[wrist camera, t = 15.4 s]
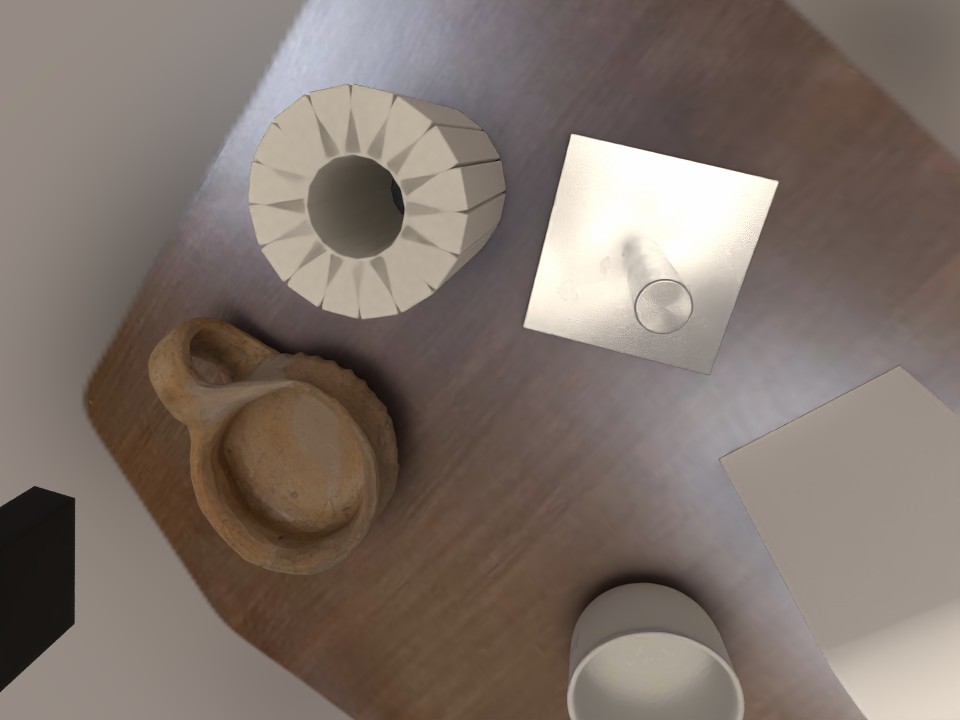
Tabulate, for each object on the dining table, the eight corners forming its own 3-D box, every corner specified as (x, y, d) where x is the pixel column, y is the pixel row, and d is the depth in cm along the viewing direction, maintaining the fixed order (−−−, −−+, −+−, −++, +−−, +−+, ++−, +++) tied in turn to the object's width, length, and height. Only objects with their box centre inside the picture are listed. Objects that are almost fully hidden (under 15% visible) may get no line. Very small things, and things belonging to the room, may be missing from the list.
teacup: (546, 586, 49) (537, 667, 41) (686, 539, 46) (705, 617, 38) (624, 727, 52) (629, 826, 44) (761, 691, 48) (792, 792, 41)
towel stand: (571, 133, 39) (560, 127, 26) (775, 180, 38) (867, 197, 25) (524, 323, 43) (494, 398, 30) (706, 370, 42) (755, 468, 29)
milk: (899, 365, 40) (1387, 715, 15) (986, 510, 42) (1544, 1028, 17) (719, 458, 43) (881, 861, 19) (806, 588, 45) (1055, 1105, 21)
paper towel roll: (362, 87, 40) (260, 62, 28) (521, 124, 39) (489, 115, 27) (339, 247, 43) (239, 288, 31) (485, 284, 42) (441, 341, 30)
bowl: (138, 425, 48) (50, 457, 38) (250, 274, 48) (190, 266, 38) (332, 569, 49) (294, 636, 39) (445, 423, 48) (437, 454, 38)
